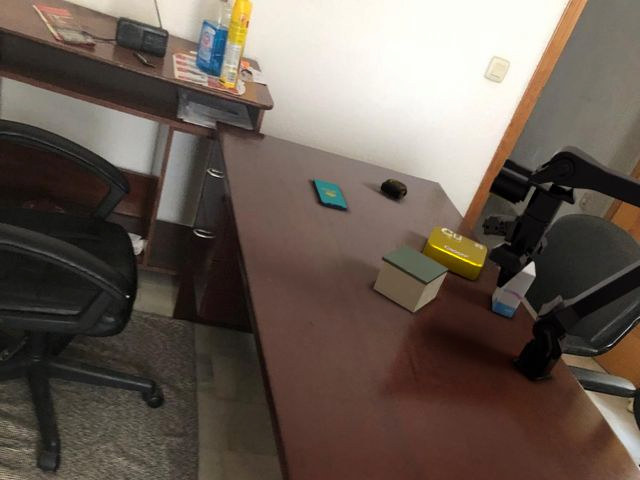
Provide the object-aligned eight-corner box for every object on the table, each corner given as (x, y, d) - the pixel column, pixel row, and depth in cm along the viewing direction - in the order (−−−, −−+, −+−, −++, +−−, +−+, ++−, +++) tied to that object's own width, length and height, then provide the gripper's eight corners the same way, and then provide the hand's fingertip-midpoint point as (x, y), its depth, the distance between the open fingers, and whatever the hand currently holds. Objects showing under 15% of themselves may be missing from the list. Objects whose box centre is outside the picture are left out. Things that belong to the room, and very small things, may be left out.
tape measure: (377, 192, 190) (382, 179, 188) (389, 189, 195) (393, 176, 192) (396, 203, 188) (401, 190, 186) (407, 199, 193) (412, 187, 190)
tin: (373, 288, 144) (384, 261, 140) (396, 275, 153) (407, 249, 149) (413, 312, 142) (425, 285, 137) (434, 298, 150) (447, 272, 146)
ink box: (511, 319, 154) (537, 275, 147) (491, 311, 154) (516, 267, 147) (510, 303, 161) (535, 260, 154) (491, 295, 161) (515, 252, 153)
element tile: (419, 258, 164) (427, 241, 161) (429, 238, 176) (436, 222, 173) (474, 282, 163) (483, 265, 160) (481, 261, 175) (489, 245, 172)
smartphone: (338, 184, 182) (348, 207, 171) (337, 186, 183) (347, 210, 172) (313, 178, 180) (321, 202, 169) (312, 181, 180) (321, 205, 170)
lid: (381, 259, 140) (382, 256, 140) (404, 247, 149) (405, 244, 148) (426, 285, 137) (427, 282, 137) (447, 272, 146) (448, 268, 145)
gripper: (515, 188, 132) (480, 256, 142) (484, 204, 118) (447, 278, 128) (565, 214, 129) (525, 282, 139) (538, 233, 115) (497, 307, 125)
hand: (498, 286), depth 133 cm, fingers closed
